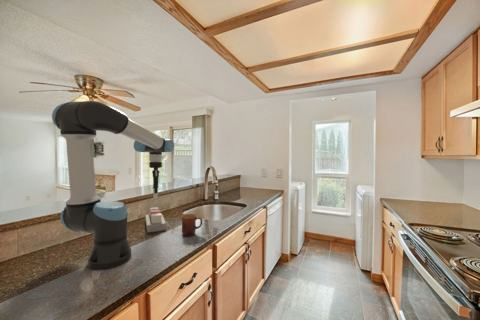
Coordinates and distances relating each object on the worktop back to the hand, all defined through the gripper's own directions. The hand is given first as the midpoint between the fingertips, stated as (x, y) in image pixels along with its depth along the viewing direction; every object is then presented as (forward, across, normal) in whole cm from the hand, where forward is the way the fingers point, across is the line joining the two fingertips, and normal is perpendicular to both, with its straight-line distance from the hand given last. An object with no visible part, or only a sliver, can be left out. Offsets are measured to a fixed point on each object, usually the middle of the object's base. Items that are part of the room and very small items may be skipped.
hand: (155, 198), depth 130 cm
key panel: (+16, -5, +1) cm, 17 cm away
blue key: (+12, +3, +1) cm, 12 cm away
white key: (+12, -12, 0) cm, 17 cm away
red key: (+12, -5, +1) cm, 13 cm away
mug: (+16, -29, -17) cm, 37 cm away
